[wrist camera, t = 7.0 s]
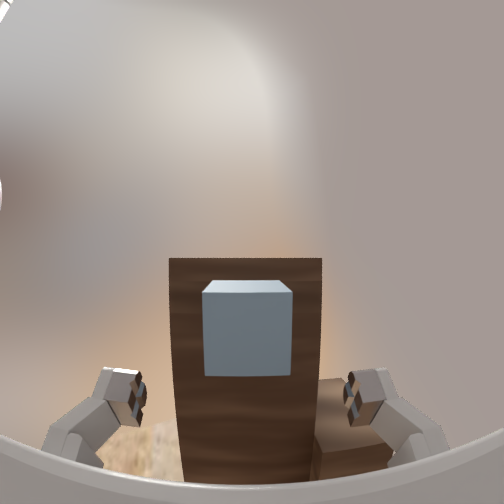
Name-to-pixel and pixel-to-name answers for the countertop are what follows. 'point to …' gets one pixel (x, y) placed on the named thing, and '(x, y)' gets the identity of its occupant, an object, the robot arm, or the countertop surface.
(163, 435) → the countertop surface
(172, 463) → the countertop surface
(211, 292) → the plug
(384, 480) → the robot arm
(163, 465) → the countertop surface
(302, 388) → the stand
